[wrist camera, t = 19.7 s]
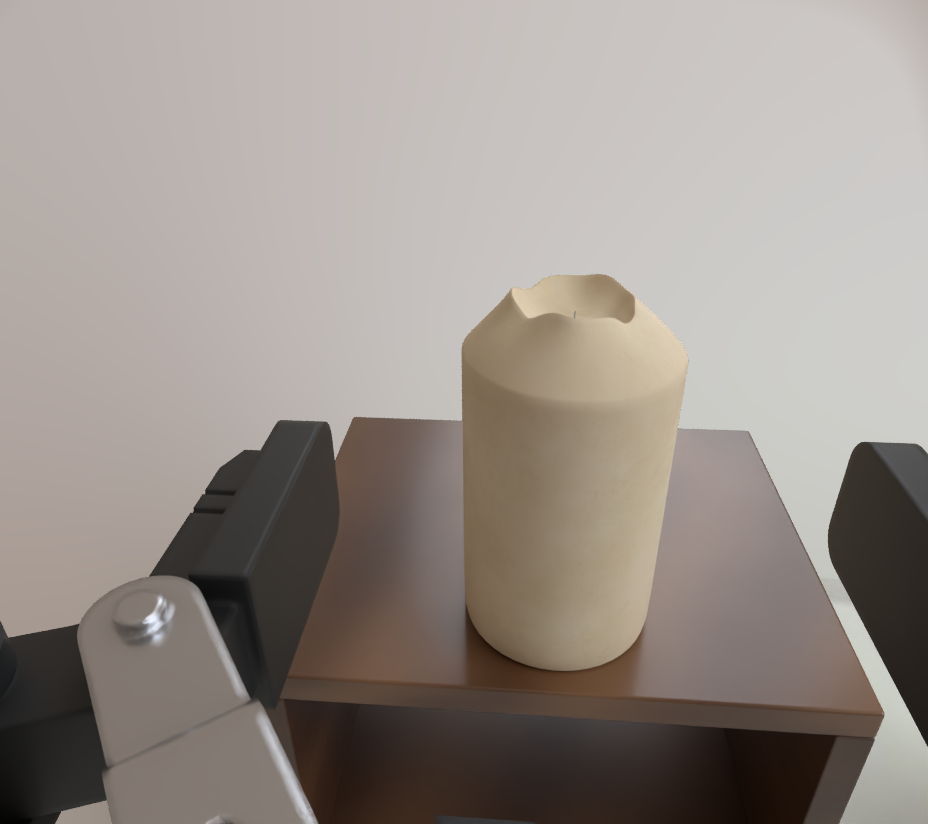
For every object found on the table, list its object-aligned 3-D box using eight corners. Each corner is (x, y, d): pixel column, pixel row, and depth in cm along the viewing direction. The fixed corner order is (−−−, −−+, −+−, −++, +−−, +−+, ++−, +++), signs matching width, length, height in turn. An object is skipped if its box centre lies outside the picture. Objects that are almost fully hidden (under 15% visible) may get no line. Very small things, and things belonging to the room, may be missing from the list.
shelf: (293, 887, 26) (243, 673, 20) (371, 599, 38) (353, 416, 32) (793, 931, 24) (886, 715, 19) (707, 618, 36) (749, 430, 31)
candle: (641, 693, 19) (699, 352, 14) (442, 652, 21) (431, 325, 16) (651, 557, 24) (697, 263, 19) (487, 530, 25) (490, 248, 20)
